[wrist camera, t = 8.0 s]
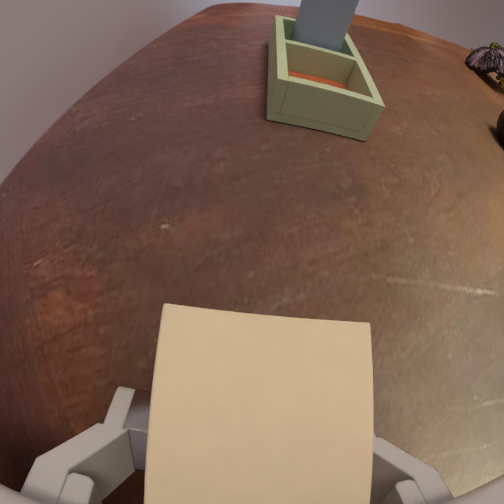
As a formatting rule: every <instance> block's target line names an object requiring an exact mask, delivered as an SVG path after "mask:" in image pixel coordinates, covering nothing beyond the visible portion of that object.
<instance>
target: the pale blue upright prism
mask: <svg viewBox="0 0 504 504" xmlns="http://www.w3.org/2000/svg"><path fill="white" fill-rule="evenodd" d="M358 1H359V0H302V2H301V5H300V8H299V12H298V15H297V19H296V22H295V26H294V29H293V33H292V36H291V41H296V42H300V43H305V44H309V45H313V46H317V47H321V48H325V49H328V50H332V51H336V52H340V49H341V46H342V44H343V41H344V38H345V36H346V33H347V31H348V28H349V25H350V23H351V20H352V17H353V15H354V12H355V9H356V7H357V4H358Z"/></svg>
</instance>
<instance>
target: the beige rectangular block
mask: <svg viewBox="0 0 504 504" xmlns="http://www.w3.org/2000/svg"><path fill="white" fill-rule="evenodd" d="M373 423H374V406H373V366H372V346H371V331H370V323H368V322H349V321H333V320H318V319H305V318H293V317H281V316H270V315H259V314H249V313H240V312H231V311H222V310H213V309H205V308H197V307H189V306H181V305H174V304H167V303H166V304H164V305H163V309H162V315H161V322H160V329H159V336H158V343H157V350H156V358H155V366H154V374H153V382H152V391H151V401H150V411H149V422H148V434H147V447H146V463H145V483H144V504H370V494H371V480H372V462H373Z"/></svg>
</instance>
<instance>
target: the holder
mask: <svg viewBox="0 0 504 504" xmlns="http://www.w3.org/2000/svg"><path fill="white" fill-rule="evenodd" d="M295 22H296V19H292V18H287V17H282V16H278V15H275V19H274V23H273V27H272V31H271V35H270V39H269V48H268V86H267V120H271V121H276V122H282V123H287V124H292V125H297V126H302V127H307V128H311V129H316V130H320V131H325V132H329V133H333V134H338V135H342V136H346V137H350V138H353V139H357V140H361V141H366V140H367V138H368V136H369V135H370V133H371V131H372V129H373V128H374V126H375V124H376V122H377V120H378V118H379V117H380V115H381V113H382V111H383V109H384V107H385V106H384V103H383V101H382V99H381V97H380V95H379V93H378V90H377V88H376V86H375V84H374V82H373V80H372V78H371V76H370V74H369V72H368V70H367V68H366V66H365V64H364V62H363V60H362V58H361V57H360V55H359V53H358V51H357V49H356V47H355V46H354V44H353V42H352V40H351V38H350V37H349V35H348V33H346V36H345V38H344V41H343V44H342V46H341V49H340V52H336V51H332V50H328V49H325V48H321V47H317V46H313V45H309V44H305V43H300V42H296V41H291V36H292V33H293V29H294V26H295Z"/></svg>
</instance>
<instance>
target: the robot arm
mask: <svg viewBox="0 0 504 504" xmlns="http://www.w3.org/2000/svg"><path fill="white" fill-rule="evenodd" d="M150 401H151V392H148V391H143V390H138V389H131V388H127V387H122V386H119V387H118V388H117V389H116V392H115V394H114V397H113V399H112V402H111V405H110V407H109V410H108V412H107V415H106V417H105V420H104V423H103V424H100V423H97V424H95V425H94V426H92V427H90V428H89V429H87V430H85V431H84V432H82V433H80V434H78V435H77V436H75V437H73V438H71V439H70V440H68V441H66V442H64V443H62V444H61V445H59V446H57V447H55V448H53V449H52V450H50V451H48V452H46V453H44V454H43V455H41V456H39V457H37V458H36V459H35V461H34V464H33V466H32V468H31V470H30V472H29V474H28V476H27V478H26V481H25V483H24V485H23V487H22V489H21V492H20V493H19V492H17V491H15V490H13V489H10V488H8V487H6V486H4V485H2V484H0V504H103V503H102V500H103V499H104V498H106V497H107V496H108V495H109V494H110V493H111V492H112V491H113V490H115V489H116V488H117V487H118V486H119V485H120V484H121V483H122V482H123V481H124V480H126V479H127V478H128V477H129V476H130V475H131V474H132V473H133V472H134V471H135V469H136V470H142V471H145V463H146V447H147V434H148V422H149V411H150ZM370 504H504V474H503V475H502V476H500V477H498V478H496V479H494V480H492V481H490V482H488V483H486V484H484V485H482V486H480V487H478V488H476V489H474V490H472V491H470V492H467V493H465V494H463V495H461V496H458V497H456V498H454V497H453V495H452V494H451V492H450V490H449V489H448V487H447V485H446V484H445V482H444V480H443V479H442V477H441V475H440V474H439V472H438V470H436V469H434V468H432V467H430V466H429V465H427V464H425V463H423V462H422V461H420V460H418V459H416V458H415V457H413V456H411V455H409V454H408V453H406V452H404V451H403V450H401V449H399V448H398V447H396V446H394V445H393V444H391V443H389V442H388V441H386V440H385V439H383V438H381V437H377V438H376V436H375V434H374V432H373V462H372V480H371V494H370Z"/></svg>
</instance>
